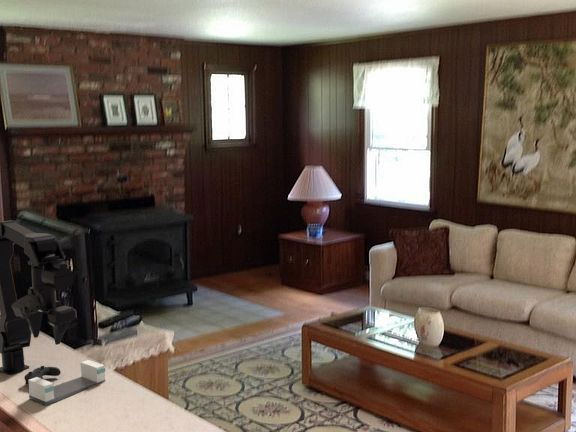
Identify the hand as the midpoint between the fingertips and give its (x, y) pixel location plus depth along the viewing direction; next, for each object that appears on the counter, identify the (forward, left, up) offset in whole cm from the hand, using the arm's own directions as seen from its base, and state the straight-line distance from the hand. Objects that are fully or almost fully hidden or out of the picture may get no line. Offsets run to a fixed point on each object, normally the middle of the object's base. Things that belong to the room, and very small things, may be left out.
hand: (46, 340), depth 184 cm
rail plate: (+9, 0, -12) cm, 15 cm away
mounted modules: (+9, 0, -12) cm, 15 cm away
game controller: (0, 0, -12) cm, 12 cm away
